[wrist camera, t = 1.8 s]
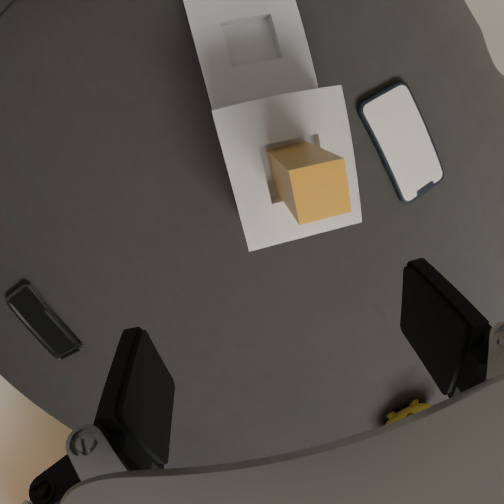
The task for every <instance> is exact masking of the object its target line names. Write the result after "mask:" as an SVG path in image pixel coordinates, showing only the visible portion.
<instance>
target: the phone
mask: <svg viewBox="0 0 504 504" xmlns="http://www.w3.org/2000/svg"><path fill="white" fill-rule="evenodd" d="M6 303H7V305H8V306H9V307H10V308H11V310H12V311H13V312H14V313H15V314H16V316H17V317H18V318H19V319H20V320H21V322H22V323H23V324H24V325H25V326H26V327H27V328H28V330H29V331H30V332H31V333H32V334H33V335H34V336H35V337H36V338H37V339H38V341H39V342H40V343H41V344H42V345H43V346H44V347H45V348H46V349H47V350H48V351H49V352H50V353H51V354H52V355H53V356H54V357H55V358H57V359H60V360H61V359H63V358H65V357H67V356H70V355H72V354H74V353H76V352H78V351H80V350H81V348H82V342H81V341H80V340H79V339H78V338H77V337H76V336H75V335H74V334H73V332H72V331H71V330H70V329H69V328H68V327H67V326H66V325H65V324H64V322H63V321H62V320H61V319H60V318H59V317H58V316H57V314H56V313H55V312H54V311H53V310H52V309H51V307H50V306H49V305H48V304H47V303H46V301H45V300H44V299H43V298H42V297H41V295H40V294H39V293H38V292H37V290H36V289H35V288H34V286H33V285H32V284H31V283H29V282H24V283H23V284H22V285H21V286H19V287H18V288H17V289H16V290H14V291H13V292H12V293H11V294H10V295H9V296H8V297H7V298H6Z"/></svg>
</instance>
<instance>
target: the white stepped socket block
mask: <svg viewBox="0 0 504 504" xmlns="http://www.w3.org/2000/svg"><path fill="white" fill-rule="evenodd" d="M183 2H184V6H185V9H186V13H187V17H188V21H189V24H190V28H191V32H192V36H193V39H194V43H195V47H196V51H197V54H198V58H199V62H200V66H201V69H202V73H203V77H204V81H205V84H206V88H207V92H208V96H209V99H210V103H211V107H212V115H213V119H214V122H215V126H216V130H217V133H218V137H219V141H220V145H221V148H222V152H223V156H224V159H225V163H226V167H227V171H228V174H229V178H230V182H231V185H232V189H233V193H234V197H235V200H236V204H237V208H238V211H239V215H240V219H241V222H242V226H243V230H244V234H245V237H246V241H247V245H248V248H249V252H250V251H254V250H257V249H261V248H265V247H269V246H273V245H276V244H280V243H284V242H288V241H292V240H295V239H299V238H303V237H307V236H311V235H315V234H318V233H322V232H326V231H330V230H334V229H337V228H341V227H345V226H349V225H353V224H356V223H360V222H362V216H361V207H360V197H359V189H358V181H357V173H356V166H355V159H354V152H353V146H352V139H351V133H350V128H349V122H348V116H347V111H346V106H345V101H344V96H343V91H342V86H341V85H338V86H329V87H322V88H318V84H317V80H316V76H315V71H314V67H313V63H312V59H311V55H310V51H309V47H308V43H307V39H306V36H305V32H304V28H303V25H302V21H301V18H300V14H299V11H298V7H297V4H296V1H295V0H183ZM304 141H306V142H309V143H311V144H313V145H316V146H318V147H320V148H323V149H325V150H327V151H329V152H332V153H334V154H336V155H338V156H340V157H342V158H344V160H345V166H346V173H347V180H348V187H349V195H350V203H351V211H352V212H349V213H345V214H341V215H337V216H333V217H329V218H325V219H321V220H317V221H313V222H309V223H305V224H301V225H299V224H298V222H297V221H296V219H295V218H294V216H293V215H292V213H291V212H290V210H289V209H288V207H287V206H286V204H285V203H284V201H283V200H282V198H281V197H280V196H279V194H278V193H277V191H276V190H275V188H274V183H273V179H272V174H271V170H270V166H269V161H268V157H267V153H266V150H268V149H272V148H277V147H281V146H286V145H290V144H295V143H299V142H304Z"/></svg>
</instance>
